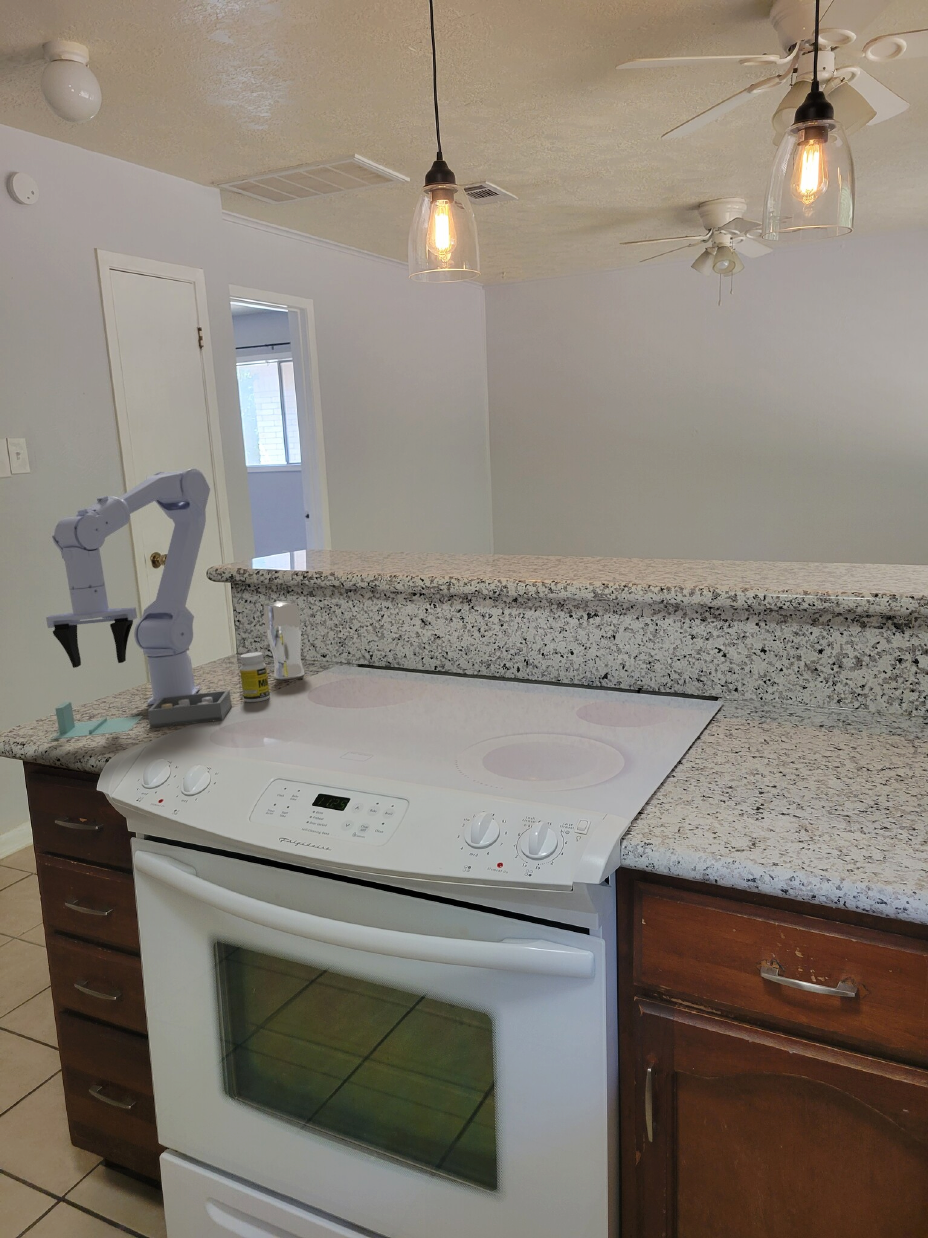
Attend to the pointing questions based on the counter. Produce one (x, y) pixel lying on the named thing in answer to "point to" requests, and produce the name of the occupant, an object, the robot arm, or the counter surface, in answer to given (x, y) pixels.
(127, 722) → the lid
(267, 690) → the supplement bottle
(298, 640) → the beer glass
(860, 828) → the counter surface
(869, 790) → the counter surface
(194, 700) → the tub
